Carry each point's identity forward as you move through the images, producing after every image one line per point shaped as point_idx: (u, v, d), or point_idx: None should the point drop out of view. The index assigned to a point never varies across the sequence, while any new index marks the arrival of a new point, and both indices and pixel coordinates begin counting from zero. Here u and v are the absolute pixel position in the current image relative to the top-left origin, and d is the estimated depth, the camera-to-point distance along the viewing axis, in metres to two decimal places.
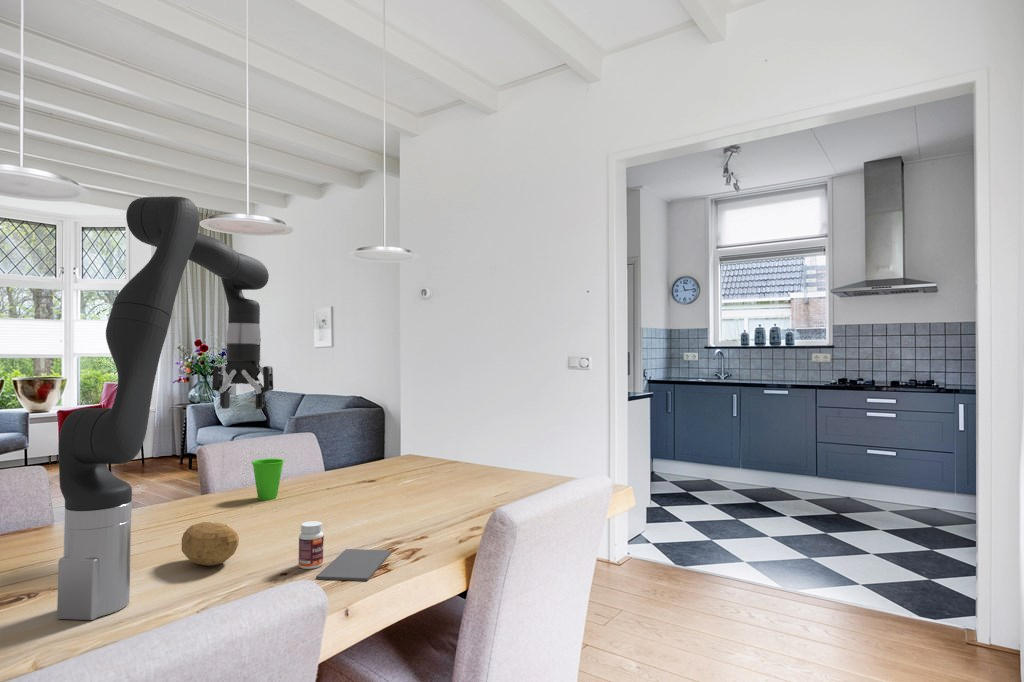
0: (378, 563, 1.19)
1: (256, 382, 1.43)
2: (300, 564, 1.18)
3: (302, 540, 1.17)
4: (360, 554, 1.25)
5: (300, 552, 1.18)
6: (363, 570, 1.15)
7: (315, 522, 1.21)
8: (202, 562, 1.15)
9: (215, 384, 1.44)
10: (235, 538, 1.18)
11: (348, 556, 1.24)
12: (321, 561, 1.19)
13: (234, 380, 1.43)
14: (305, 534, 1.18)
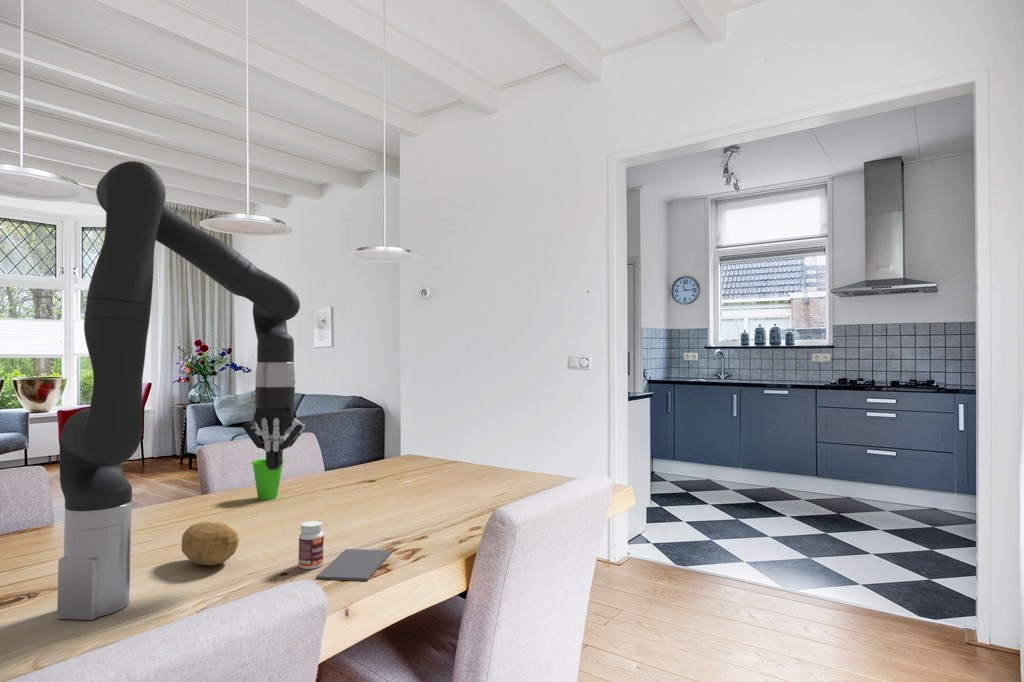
0: (378, 563, 1.19)
1: (280, 438, 1.20)
2: (300, 564, 1.18)
3: (302, 540, 1.17)
4: (360, 554, 1.25)
5: (300, 552, 1.18)
6: (363, 570, 1.15)
7: (315, 522, 1.21)
8: (202, 562, 1.15)
9: (257, 441, 1.20)
10: (235, 538, 1.18)
11: (348, 556, 1.24)
12: (321, 561, 1.19)
13: (271, 429, 1.20)
14: (305, 534, 1.18)
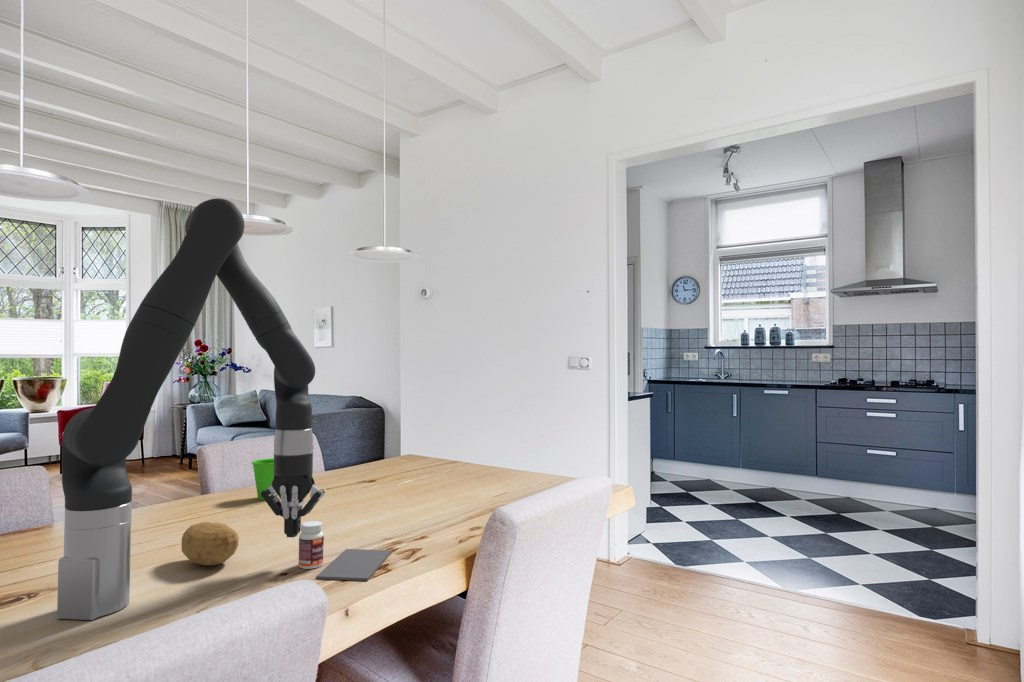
0: (378, 563, 1.19)
1: (298, 505, 1.19)
2: (300, 564, 1.18)
3: (303, 540, 1.17)
4: (360, 554, 1.25)
5: (300, 552, 1.18)
6: (363, 570, 1.15)
7: (315, 522, 1.21)
8: (202, 562, 1.15)
9: (275, 508, 1.19)
10: (235, 538, 1.18)
11: (348, 556, 1.24)
12: (321, 561, 1.19)
13: (290, 496, 1.19)
14: (305, 534, 1.18)
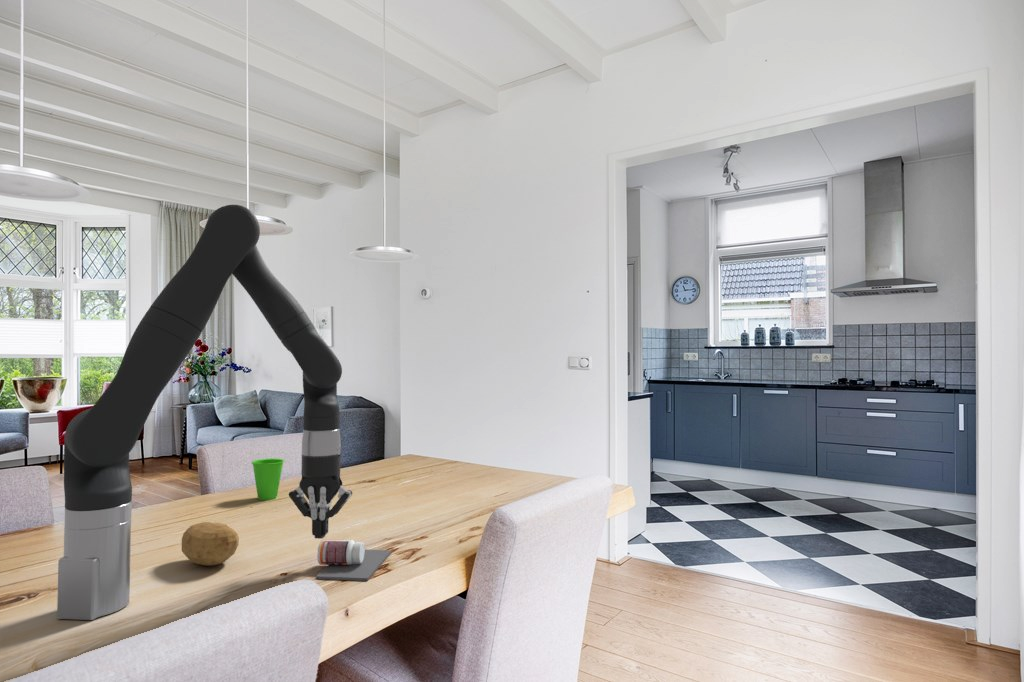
0: (378, 563, 1.19)
1: (326, 506, 1.19)
2: (321, 551, 1.17)
3: (345, 554, 1.16)
4: None
5: (333, 550, 1.17)
6: (363, 570, 1.15)
7: (363, 551, 1.20)
8: (202, 562, 1.15)
9: (303, 509, 1.19)
10: (235, 538, 1.18)
11: None
12: None
13: (318, 497, 1.19)
14: (351, 554, 1.17)
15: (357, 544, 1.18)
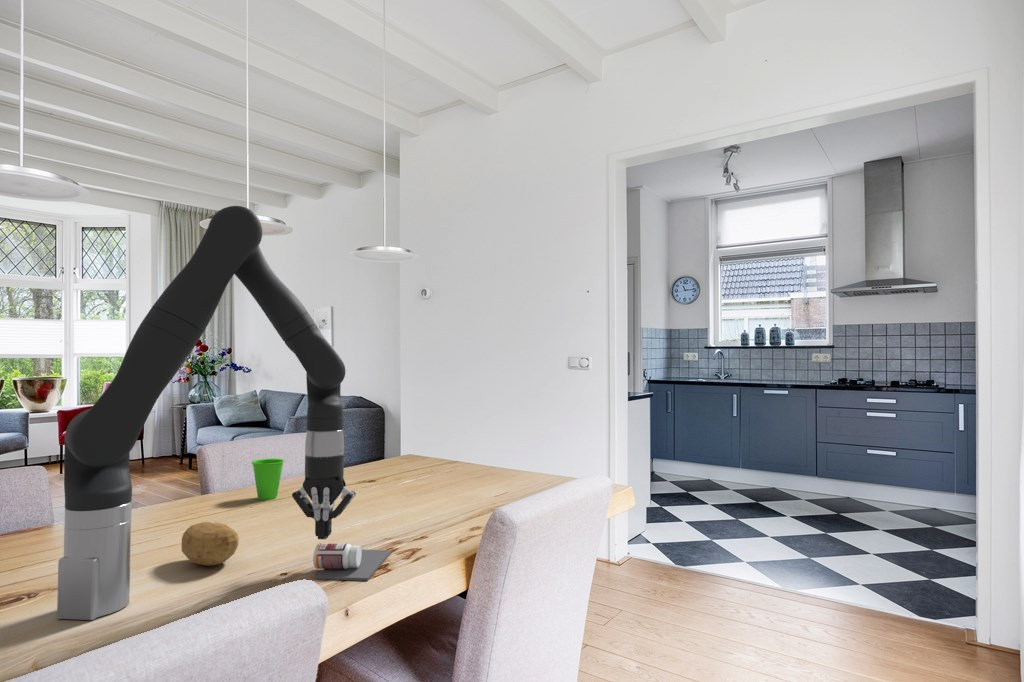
0: (378, 563, 1.19)
1: (329, 507, 1.18)
2: (317, 565, 1.15)
3: (342, 567, 1.15)
4: None
5: (329, 565, 1.14)
6: (363, 570, 1.15)
7: (360, 551, 1.17)
8: (202, 562, 1.15)
9: (306, 510, 1.19)
10: (235, 538, 1.18)
11: None
12: None
13: (321, 497, 1.19)
14: (348, 565, 1.15)
15: (352, 557, 1.15)
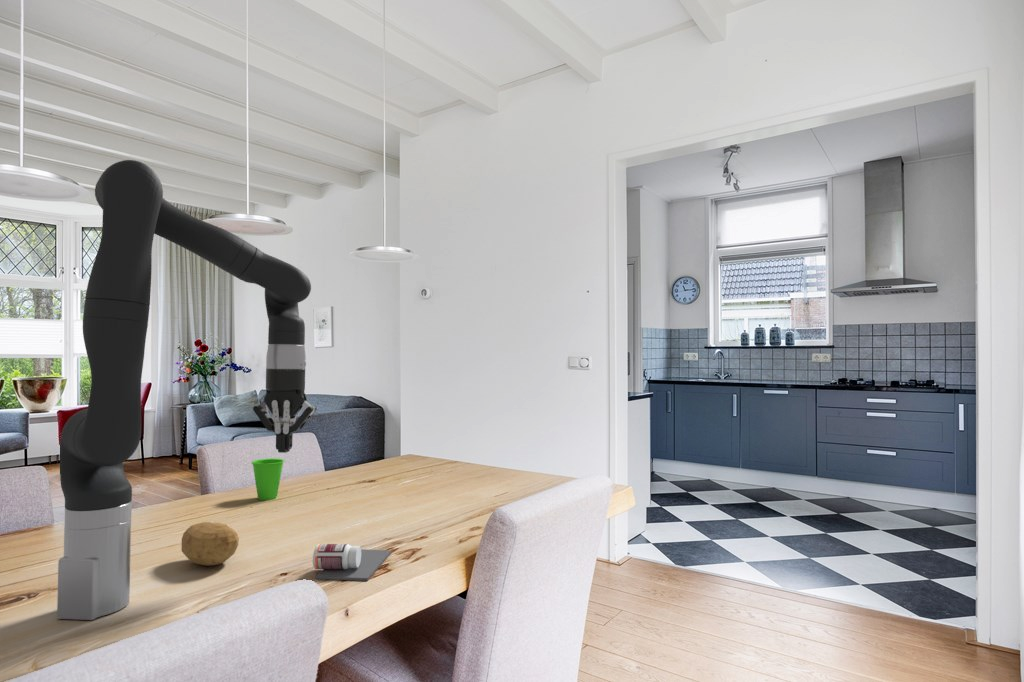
0: (378, 563, 1.19)
1: (290, 420, 1.20)
2: (317, 566, 1.14)
3: (342, 568, 1.15)
4: None
5: (329, 566, 1.14)
6: (363, 570, 1.15)
7: (359, 551, 1.17)
8: (202, 562, 1.15)
9: (267, 423, 1.20)
10: (235, 538, 1.18)
11: None
12: None
13: (281, 411, 1.20)
14: (348, 566, 1.15)
15: (351, 558, 1.14)
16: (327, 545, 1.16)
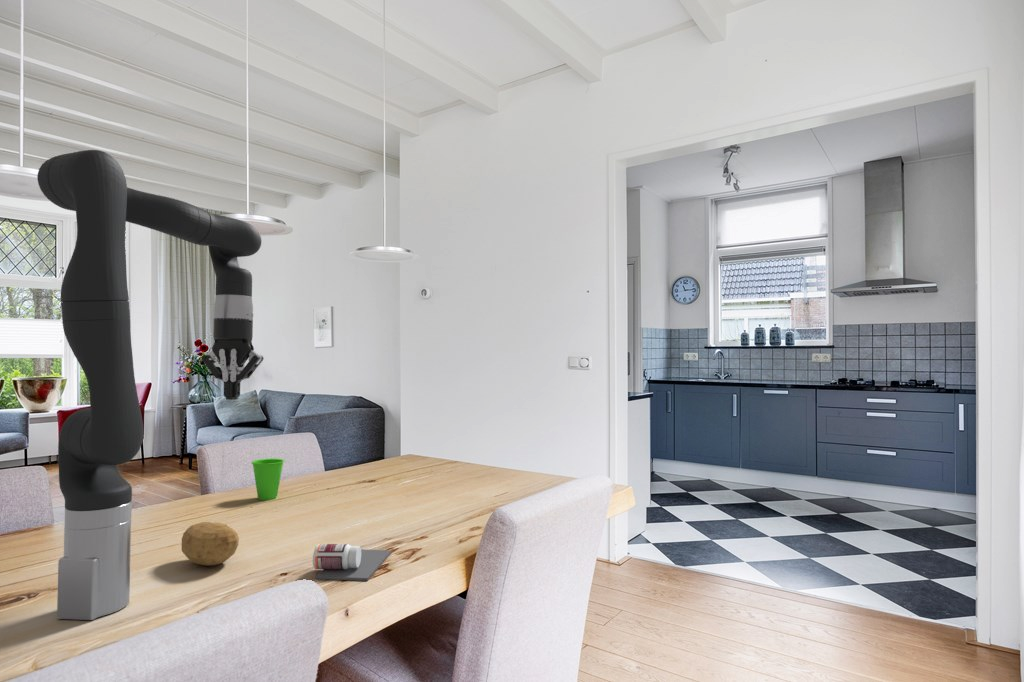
0: (378, 563, 1.19)
1: (237, 369, 1.24)
2: (317, 566, 1.14)
3: (342, 568, 1.15)
4: None
5: (329, 566, 1.14)
6: (363, 570, 1.15)
7: (359, 551, 1.17)
8: (202, 562, 1.15)
9: (215, 372, 1.24)
10: (235, 538, 1.18)
11: None
12: None
13: (229, 359, 1.24)
14: (348, 566, 1.15)
15: (351, 558, 1.14)
16: (327, 545, 1.16)
